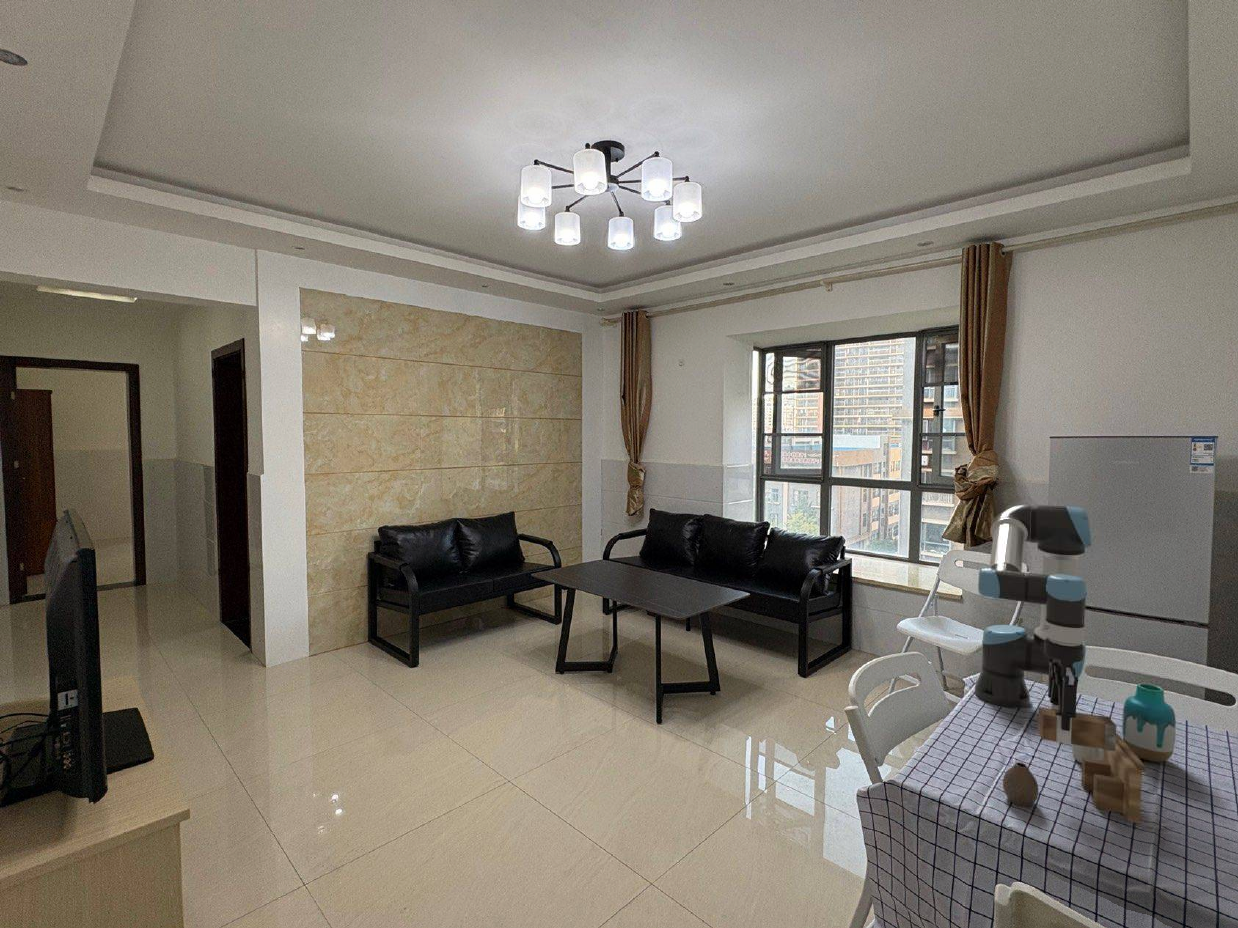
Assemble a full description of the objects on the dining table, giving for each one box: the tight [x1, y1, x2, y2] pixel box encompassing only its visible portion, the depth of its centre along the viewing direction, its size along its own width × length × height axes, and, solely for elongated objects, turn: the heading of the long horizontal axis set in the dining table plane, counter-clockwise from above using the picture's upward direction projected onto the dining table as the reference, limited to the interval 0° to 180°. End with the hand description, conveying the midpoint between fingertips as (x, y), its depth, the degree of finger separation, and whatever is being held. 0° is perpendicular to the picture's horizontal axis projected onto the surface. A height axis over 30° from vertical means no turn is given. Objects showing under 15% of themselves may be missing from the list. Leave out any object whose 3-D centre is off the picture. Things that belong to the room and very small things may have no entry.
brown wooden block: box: [1037, 706, 1117, 751], centre depth 143 cm, size 14×5×6 cm, turn 68°
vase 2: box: [1121, 682, 1177, 763], centre depth 160 cm, size 11×11×19 cm
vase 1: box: [1002, 761, 1040, 807], centre depth 140 cm, size 7×7×9 cm
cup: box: [1071, 744, 1103, 764], centre depth 156 cm, size 11×8×8 cm
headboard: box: [1080, 732, 1147, 824], centre depth 141 cm, size 16×8×13 cm, turn 158°
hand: (1060, 736), depth 144 cm, fingers closed on brown wooden block, 4 cm apart
